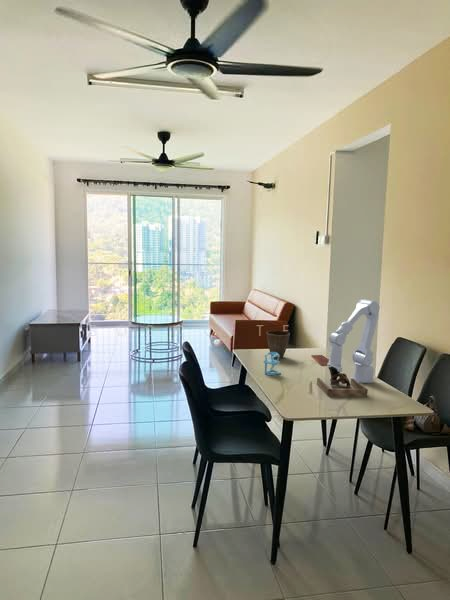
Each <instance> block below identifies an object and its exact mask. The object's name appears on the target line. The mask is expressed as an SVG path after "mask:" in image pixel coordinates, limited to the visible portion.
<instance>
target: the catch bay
mask: <svg viewBox="0 0 450 600" xmlns="http://www.w3.org/2000/svg"><path fill="white" fill-rule="evenodd" d="M316 385H317V386H318V388H319V389H321V390H322V392H323V393H324V394H325V395H326V396H327V397H334V398H335V397H346V398H347V397H349V398H350V397H352V398H353V397H355V398H356V397H360V398H363V397H364V398H365V397H368V393H369V392H368V391H369V390H368V389H367V388H366V387H365V386H364V385H363V384H361V383H359V382H357V381H356V380H355V379H354V378H351V377H350V386H351V387H352V388H351V389H349V388H331V387H329V386H328V385H327V384H326V382H325V381H323V379H321V378H320V377H317V378H316Z"/></svg>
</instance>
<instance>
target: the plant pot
mask: <svg viewBox="0 0 450 600" xmlns="http://www.w3.org/2000/svg"><path fill="white" fill-rule="evenodd" d="M290 336H291V333H290V332H288V331H285V330H269V331H268V330H267V331H266V338H267V340H266V341H267V346H268V350H269V352H276V353H278V354H279V355H280V357H279V359H283V358H284V357H285V354H286V351H287V348H288V344H289V342H290ZM273 356H274V355H272V357H273ZM277 358H278V357H274V358H273V359H277Z"/></svg>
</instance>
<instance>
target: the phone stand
mask: <svg viewBox="0 0 450 600" xmlns="http://www.w3.org/2000/svg"><path fill="white" fill-rule="evenodd" d="M268 355H270V359H268V358H267V356H268ZM272 355H274V356H273V357H272ZM274 357H278V358H276V359H275V358H274ZM279 357H280V355H279V354H278V353H276V352H270V351H269V352H267V353H266V354H264V358H265V359H264V360H263V363H264V373H263V374H264V375H267V376H275V375H276V376H277V375H282V371H278V370H275V369H274V367H275V366H276V365H278V364H281V361H279V359H280V358H279ZM268 364H269V365H270V366H271V367H270V369H268ZM267 369H268V370H267Z"/></svg>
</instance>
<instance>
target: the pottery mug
mask: <svg viewBox="0 0 450 600" xmlns="http://www.w3.org/2000/svg"><path fill="white" fill-rule="evenodd" d="M336 377H337V380H334V379H335V378H336ZM331 378H332V379H331ZM329 380H330V384H329V385H330V386H331V387H333V386H340V383H341V385H342V384H343V385H346V387H347V389H352V388H351V387H352V386H351V381H350V380H349V378H348V376H347V374H346V373H345V372H344V373H341V372H340V373H338V374H336V375H334V376H332V377H331V376H330V379H329Z"/></svg>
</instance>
